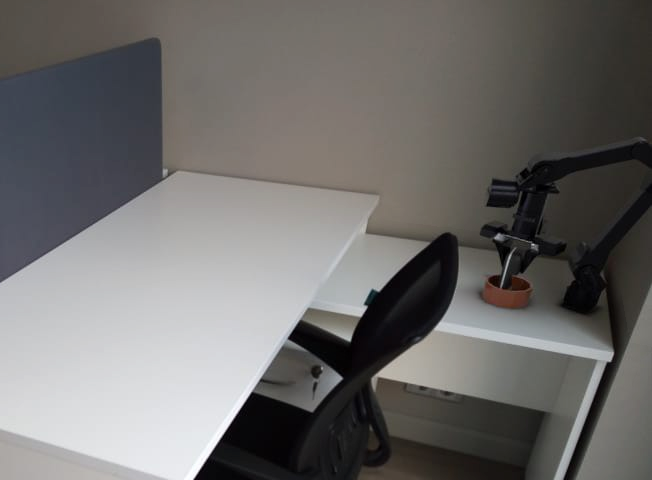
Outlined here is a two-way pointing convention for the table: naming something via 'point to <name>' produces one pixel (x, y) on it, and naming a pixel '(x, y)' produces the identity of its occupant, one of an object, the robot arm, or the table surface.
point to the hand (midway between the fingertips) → (512, 270)
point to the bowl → (507, 292)
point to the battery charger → (511, 268)
